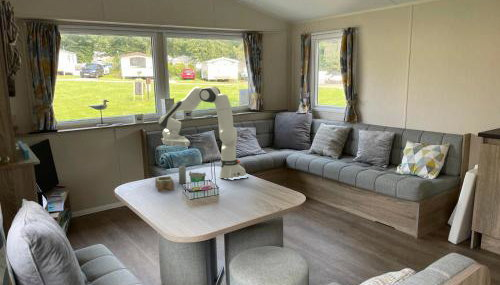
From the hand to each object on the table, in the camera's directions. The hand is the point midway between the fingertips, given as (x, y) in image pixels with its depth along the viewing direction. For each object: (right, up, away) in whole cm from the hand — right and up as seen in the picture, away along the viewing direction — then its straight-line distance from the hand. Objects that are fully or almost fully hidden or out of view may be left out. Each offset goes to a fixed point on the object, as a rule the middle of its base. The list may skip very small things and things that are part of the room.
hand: (179, 145), depth 271 cm
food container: (+14, -29, -13) cm, 35 cm away
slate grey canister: (+3, -27, -4) cm, 28 cm away
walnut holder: (-7, -29, -16) cm, 34 cm away
